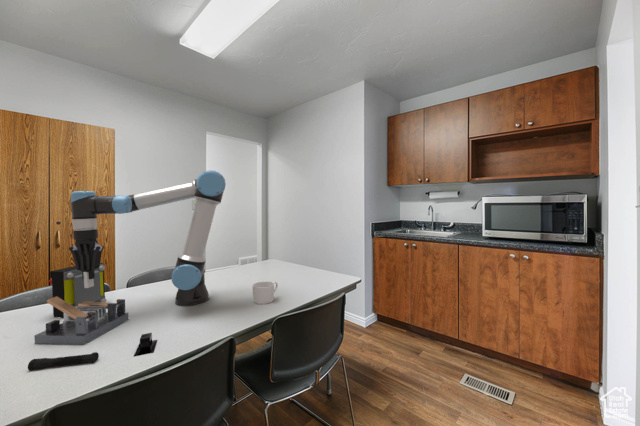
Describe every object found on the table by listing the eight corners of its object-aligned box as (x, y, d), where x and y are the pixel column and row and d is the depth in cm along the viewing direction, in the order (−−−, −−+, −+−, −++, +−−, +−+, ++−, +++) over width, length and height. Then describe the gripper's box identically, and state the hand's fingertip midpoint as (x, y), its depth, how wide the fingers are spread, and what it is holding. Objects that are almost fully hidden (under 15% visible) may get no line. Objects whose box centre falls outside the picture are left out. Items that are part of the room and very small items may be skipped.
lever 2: (117, 306, 110) (117, 303, 110) (111, 309, 107) (111, 306, 107) (84, 303, 111) (84, 301, 111) (77, 306, 108) (78, 303, 108)
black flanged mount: (137, 342, 94) (137, 330, 94) (161, 338, 97) (161, 326, 97) (129, 361, 83) (128, 346, 83) (156, 355, 86) (156, 341, 86)
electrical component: (68, 318, 114) (66, 272, 114) (49, 316, 116) (47, 271, 116) (108, 303, 131) (107, 263, 131) (91, 302, 133) (90, 262, 133)
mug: (259, 306, 126) (259, 289, 125) (249, 300, 134) (248, 284, 133) (283, 299, 135) (283, 283, 134) (272, 294, 142) (272, 279, 142)
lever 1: (87, 318, 97) (89, 315, 97) (79, 322, 94) (81, 319, 94) (55, 299, 98) (56, 296, 97) (46, 302, 95) (48, 299, 94)
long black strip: (36, 366, 80) (36, 356, 80) (99, 359, 84) (98, 350, 84) (27, 372, 77) (27, 362, 77) (93, 365, 81) (92, 355, 81)
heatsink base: (128, 319, 112) (127, 298, 112) (83, 344, 92) (82, 318, 92) (87, 319, 113) (86, 298, 113) (34, 343, 93) (33, 318, 93)
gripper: (108, 228, 112) (112, 284, 112) (79, 228, 112) (82, 284, 113) (92, 229, 104) (96, 289, 105) (60, 230, 105) (64, 290, 106)
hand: (89, 286), depth 109 cm, fingers closed
